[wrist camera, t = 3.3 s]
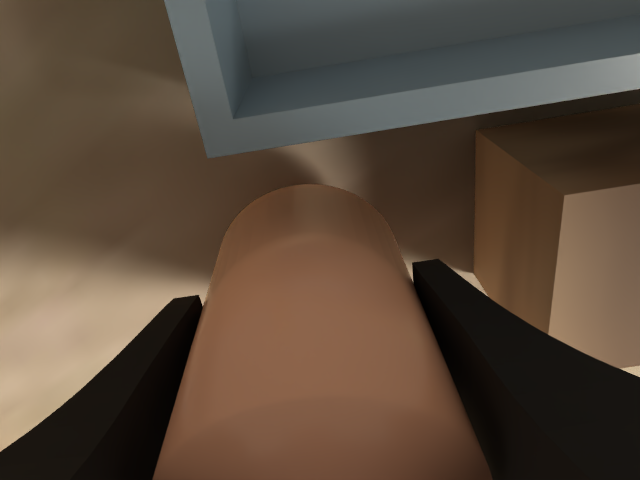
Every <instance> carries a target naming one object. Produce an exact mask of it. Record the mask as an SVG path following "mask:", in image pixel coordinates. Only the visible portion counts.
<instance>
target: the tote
mask: <svg viewBox="0 0 640 480" xmlns="http://www.w3.org/2000/svg"><path fill="white" fill-rule="evenodd" d="M164 2H165V6H166V10H167V13H168V17H169V21H170V24H171V28H172V31H173V35H174V39H175V42H176V46H177V50H178V53H179V57H180V60H181V64H182V68H183V71H184V75H185V79H186V82H187V86H188V89H189V93H190V97H191V100H192V104H193V108H194V111H195V115H196V118H197V122H198V126H199V129H200V133H201V137H202V140H203V144H204V147H205V151H206V155H207V158H214V157H220V156H227V155H233V154H239V153H245V152H251V151H258V150H264V149H270V148H276V147H282V146H289V145H295V144H301V143H307V142H313V141H320V140H326V139H332V138H338V137H344V136H351V135H357V134H363V133H369V132H375V131H381V130H388V129H394V128H400V127H406V126H412V125H419V124H425V123H431V122H437V121H443V120H450V119H456V118H462V117H468V116H474V115H481V114H487V113H493V112H499V111H505V110H512V109H518V108H524V107H530V106H536V105H543V104H549V103H555V102H561V101H567V100H573V99H580V98H586V97H592V96H598V95H604V94H611V93H617V92H623V91H629V90H635V89H640V0H164Z"/></svg>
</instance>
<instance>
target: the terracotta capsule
mask: <svg viewBox="0 0 640 480" xmlns="http://www.w3.org/2000/svg"><path fill="white" fill-rule="evenodd" d="M152 480H492V476H491V472H490V469H489V466H488V464H487V461H486V459H485V457H484V454H483V452H482V449H481V447H480V444H479V442H478V440H477V437H476V435H475V432H474V430H473V427H472V425H471V422H470V420H469V418H468V415H467V413H466V410H465V408H464V405H463V403H462V401H461V398H460V396H459V393H458V391H457V388H456V386H455V384H454V381H453V379H452V376H451V374H450V371H449V369H448V367H447V364H446V362H445V359H444V357H443V354H442V352H441V349H440V347H439V345H438V342H437V340H436V337H435V335H434V332H433V330H432V328H431V325H430V323H429V320H428V318H427V315H426V313H425V311H424V308H423V306H422V303H421V301H420V298H419V296H418V294H417V291H416V289H415V286H414V284H413V281H412V279H411V276H410V274H409V272H408V269H407V267H406V264H405V262H404V259H403V257H402V255H401V252H400V250H399V247H398V245H397V242H396V240H395V238H394V235H393V233H392V231H391V229H390V227H389V225H388V224H387V222H386V221H385V219H384V218H383V216H382V215H381V214H380V213H379V212H378V211H377V210H376V209H375V208H374V207H373V206H372V205H370V204H369V203H368V202H367V201H365V200H364V199H362V198H360V197H359V196H357V195H355V194H353V193H350V192H348V191H346V190H343V189H340V188H336V187H333V186H327V185H320V184H302V185H293V186H288V187H284V188H280V189H277V190H274V191H272V192H269V193H267V194H265V195H263V196H261V197H259V198H258V199H256V200H255V201H253V202H252V203H250V204H249V205H248V206H246V207H245V208H244V209H243V210H242V211H241V212H240V213H239V214H238V215H237V217H236V218H235V219H234V220H233V221H232V223H231V225H230V226H229V228H228V229H227V231H226V234H225V236H224V238H223V241H222V244H221V247H220V251H219V254H218V258H217V261H216V264H215V268H214V271H213V275H212V278H211V281H210V285H209V288H208V292H207V295H206V298H205V302H204V305H203V309H202V312H201V316H200V319H199V322H198V326H197V329H196V333H195V336H194V339H193V343H192V346H191V350H190V353H189V356H188V360H187V363H186V367H185V370H184V373H183V377H182V380H181V384H180V387H179V390H178V394H177V397H176V401H175V404H174V408H173V411H172V414H171V418H170V421H169V425H168V428H167V431H166V435H165V438H164V442H163V445H162V448H161V452H160V455H159V459H158V462H157V465H156V469H155V472H154V476H153V479H152Z"/></svg>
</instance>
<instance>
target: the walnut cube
mask: <svg viewBox="0 0 640 480" xmlns="http://www.w3.org/2000/svg"><path fill="white" fill-rule="evenodd" d="M474 275H475V276H476V278H477V279H478V281H479V282H480V284H481V285H482V287H483V288H484V290H485V292H486V293H487V295H488V296H489V298H491V299H492V300H493V301H495V302H496V303H498V304H499V305H501V306H502V307H504V308H505V309H507V310H508V311H510V312H511V313H513V314H515V315H516V316H518V317H519V318H521V319H523V320H524V321H526V322H527V323H529V324H531V325H532V326H534V327H536V328H537V329H539V330H541V331H543V332H545V333H546V334H548V335H550V336H552V337H554V338H556V339H558V340H560V341H561V342H563V343H565V344H567V345H569V346H571V347H573V348H575V349H577V350H579V351H581V352H583V353H585V354H587V355H589V356H592V357H594V358H596V359H598V360H600V361H603V362H605V363H607V364H609V365H612V366H614V367H616V368H626V367H632V366H639V365H640V104H635V105H629V106H622V107H616V108H610V109H604V110H597V111H591V112H585V113H579V114H573V115H566V116H560V117H554V118H548V119H541V120H535V121H529V122H523V123H516V124H510V125H504V126H498V127H491V128H485V129H479V130H476V155H475V221H474Z"/></svg>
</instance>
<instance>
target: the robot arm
mask: <svg viewBox="0 0 640 480" xmlns="http://www.w3.org/2000/svg"><path fill="white" fill-rule="evenodd" d="M412 267H413V284H414V286H415V289H416V291H417V294H418V296H419V298H420V301H421V303H422V306H423V308H424V311H425V313H426V315H427V318H428V320H429V323H430V325H431V328H432V330H433V332H434V335H435V337H436V340H437V342H438V345H439V347H440V349H441V352H442V354H443V357H444V359H445V362H446V364H447V367H448V369H449V371H450V374H451V376H452V379H453V381H454V384H455V386H456V388H457V391H458V393H459V396H460V398H461V401H462V403H463V405H464V408H465V410H466V413H467V415H468V418H469V420H470V422H471V425H472V427H473V430H474V432H475V435H476V437H477V440H478V442H479V444H480V447H481V449H482V452H483V454H484V457H485V459H486V461H487V464H488V466H489V469H490V472H491V476H492V480H640V377H638V376H635V375H633V374H630V373H628V372H626V371H623V370H621V369H619V368H616V367H614V366H612V365H609V364H607V363H605V362H603V361H600V360H598V359H596V358H594V357H592V356H589V355H587V354H585V353H583V352H581V351H579V350H577V349H575V348H573V347H571V346H569V345H567V344H565V343H563V342H561V341H560V340H558V339H556V338H554V337H552V336H550V335H548V334H546V333H545V332H543V331H541V330H539V329H537V328H536V327H534V326H532V325H531V324H529V323H527V322H526V321H524V320H523V319H521V318H519V317H518V316H516V315H515V314H513V313H511V312H510V311H508V310H507V309H505V308H504V307H502V306H501V305H499V304H498V303H496V302H495V301H493V300H492V299H491V298H489V297H488V296H486V295H485V294H484V293H482V292H481V291H479V290H478V289H477V288H475V287H474V286H473V285H471V284H470V283H469V282H468V281H466V280H465V279H464V278H462V277H461V276H460V275H458V274H457V273H456V272H455V271H453V270H452V269H451V268H449V267H448V266H447V265H446V264H444V263H443V262H442V261H440V260H439V259H434V260H427V261H421V262H414V263H412ZM202 309H203V306H202V303H201V300H200V297H199V295H195V296H188V297H181V298H175V299H173V300H172V301H171V302H170V303H168V304H167V305H166V306H165V307H164V308H163V309H162V310H161V311H160V312H159V313H158V314H157V315H156V316H155V317H154V318H153V320H152V321H151V322H150V323H149V324H148V325H147V326H146V327H145V328H144V329H143V330H142V331H141V332H140V333H139V334H138V335H137V336H136V337H135V338H134V339H133V340H132V341H131V342H130V343H129V344H128V345H127V346H126V347H125V348H124V349H123V350H122V351H121V352H120V353H119V354H118V355H117V356H116V357H115V358H114V359H113V360H112V361H111V362H110V363H109V364H108V365H107V366H106V367H104V368H103V369H102V370H101V371H100V372H99V373H98V374H97V375H96V376H95V377H94V378H93V379H92V380H91V381H89V382H88V383H87V384H86V385H85V386H84V387H83V388H82V389H81V390H80V391H78V392H77V393H76V394H75V395H74V396H73V397H72V398H70V399H69V400H68V401H67V402H66V403H64V404H63V405H62V406H61V407H60V408H58V409H57V410H56V411H55V412H53V413H52V414H51V415H50V416H48V417H47V418H46V419H45V420H43V421H42V422H41V423H40V424H38V425H37V426H36V427H34V428H33V429H32V430H30V431H29V432H28V433H26V434H25V435H23V436H22V437H21V438H19V439H18V440H16V441H15V442H14V443H12V444H11V445H9V446H8V447H7V448H5V449H4V450H2V451H1V452H0V480H152V479H153V476H154V472H155V469H156V465H157V462H158V459H159V455H160V452H161V448H162V445H163V442H164V438H165V435H166V431H167V428H168V425H169V421H170V418H171V414H172V411H173V408H174V404H175V401H176V397H177V394H178V390H179V387H180V384H181V380H182V377H183V373H184V370H185V367H186V363H187V360H188V356H189V353H190V350H191V346H192V343H193V339H194V336H195V333H196V329H197V326H198V322H199V319H200V316H201V312H202Z"/></svg>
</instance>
